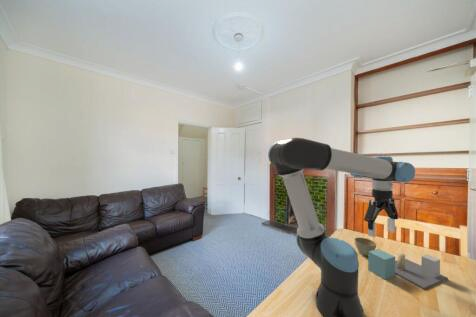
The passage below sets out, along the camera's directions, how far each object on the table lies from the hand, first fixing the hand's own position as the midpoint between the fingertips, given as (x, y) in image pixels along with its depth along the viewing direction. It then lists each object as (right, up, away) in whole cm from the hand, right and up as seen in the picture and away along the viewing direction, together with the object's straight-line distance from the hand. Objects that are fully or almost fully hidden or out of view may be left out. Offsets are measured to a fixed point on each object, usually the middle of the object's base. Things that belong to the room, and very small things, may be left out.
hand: (381, 234), depth 84 cm
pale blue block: (0, -18, 0) cm, 18 cm away
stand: (+15, -18, 0) cm, 24 cm away
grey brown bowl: (+4, -18, +16) cm, 25 cm away
